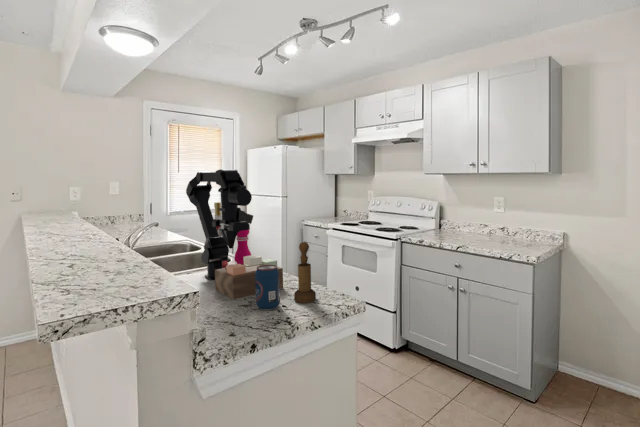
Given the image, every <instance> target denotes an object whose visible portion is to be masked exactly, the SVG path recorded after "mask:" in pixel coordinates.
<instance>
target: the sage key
mask: <svg viewBox="0 0 640 427" xmlns="http://www.w3.org/2000/svg"><path fill="white" fill-rule="evenodd" d="M261 265H275V266H277V267H278V260H277V259H273V258H267V259H262V264H260V266H261Z"/></svg>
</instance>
